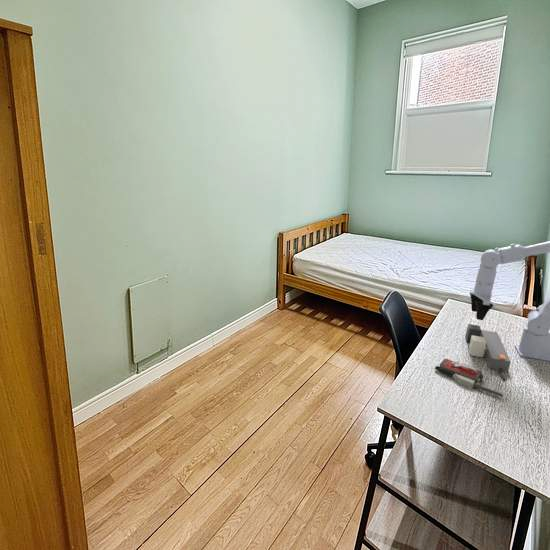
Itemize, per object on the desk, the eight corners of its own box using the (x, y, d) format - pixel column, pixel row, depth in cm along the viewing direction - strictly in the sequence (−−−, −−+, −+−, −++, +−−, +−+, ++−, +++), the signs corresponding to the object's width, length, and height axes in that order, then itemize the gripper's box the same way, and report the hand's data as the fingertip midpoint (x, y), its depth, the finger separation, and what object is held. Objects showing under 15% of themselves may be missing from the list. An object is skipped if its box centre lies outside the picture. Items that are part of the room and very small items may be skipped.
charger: (489, 352, 129) (492, 338, 127) (491, 358, 125) (494, 344, 123) (468, 349, 131) (471, 335, 130) (470, 355, 128) (473, 340, 126)
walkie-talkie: (431, 374, 117) (501, 401, 104) (433, 362, 116) (504, 388, 103) (441, 363, 123) (507, 388, 111) (443, 352, 122) (510, 376, 109)
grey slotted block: (495, 341, 138) (498, 327, 136) (512, 382, 113) (516, 365, 111) (465, 336, 141) (467, 323, 139) (475, 375, 116) (478, 358, 114)
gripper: (468, 274, 140) (461, 306, 144) (477, 287, 126) (470, 321, 131) (488, 276, 138) (481, 308, 142) (500, 289, 125) (491, 324, 129)
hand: (477, 315), depth 136 cm, fingers open, 7 cm apart
